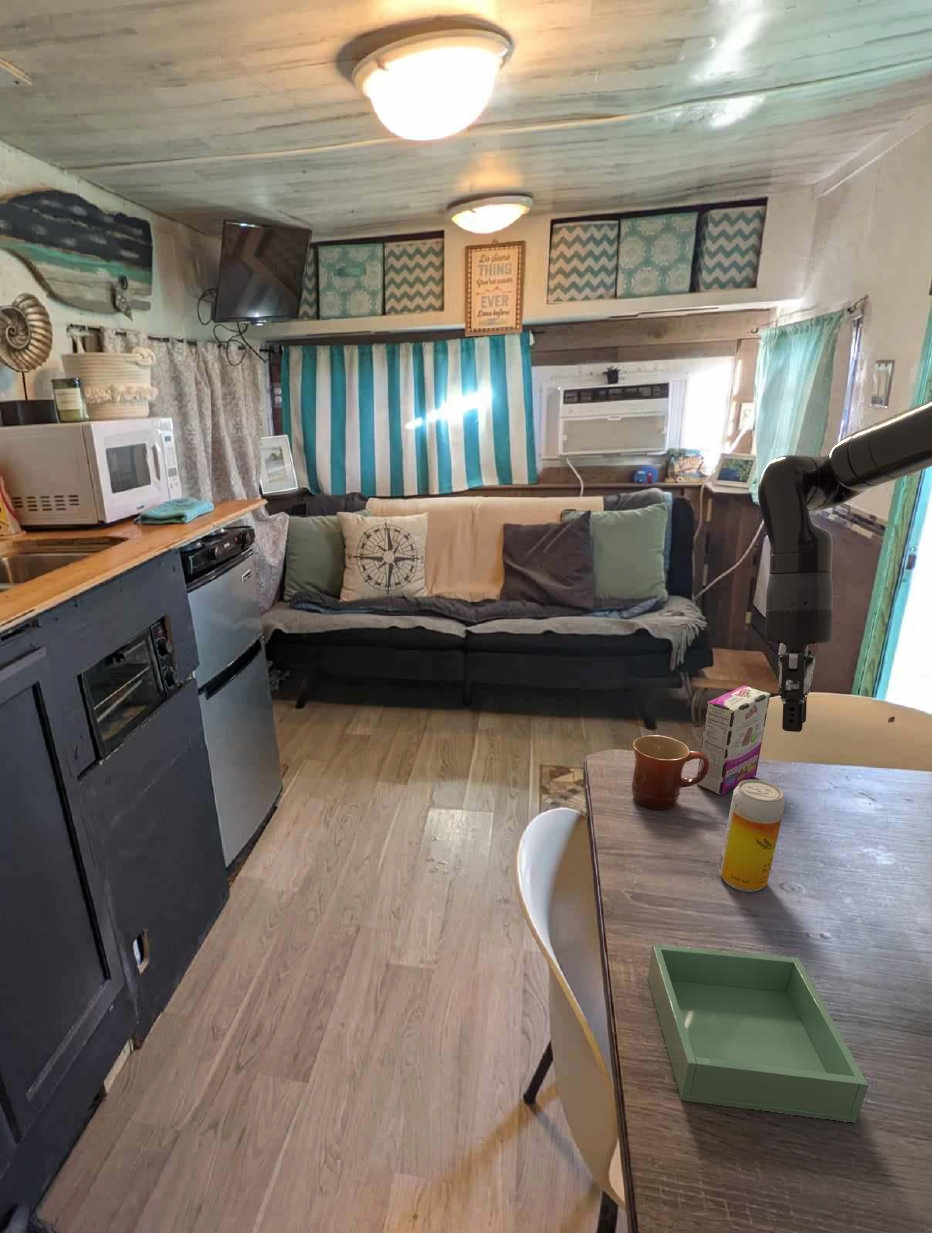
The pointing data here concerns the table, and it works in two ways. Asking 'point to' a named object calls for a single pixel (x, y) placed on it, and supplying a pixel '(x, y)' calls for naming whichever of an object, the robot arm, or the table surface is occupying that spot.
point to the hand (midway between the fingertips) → (794, 726)
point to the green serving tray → (752, 1034)
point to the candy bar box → (733, 738)
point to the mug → (662, 770)
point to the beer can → (751, 835)
